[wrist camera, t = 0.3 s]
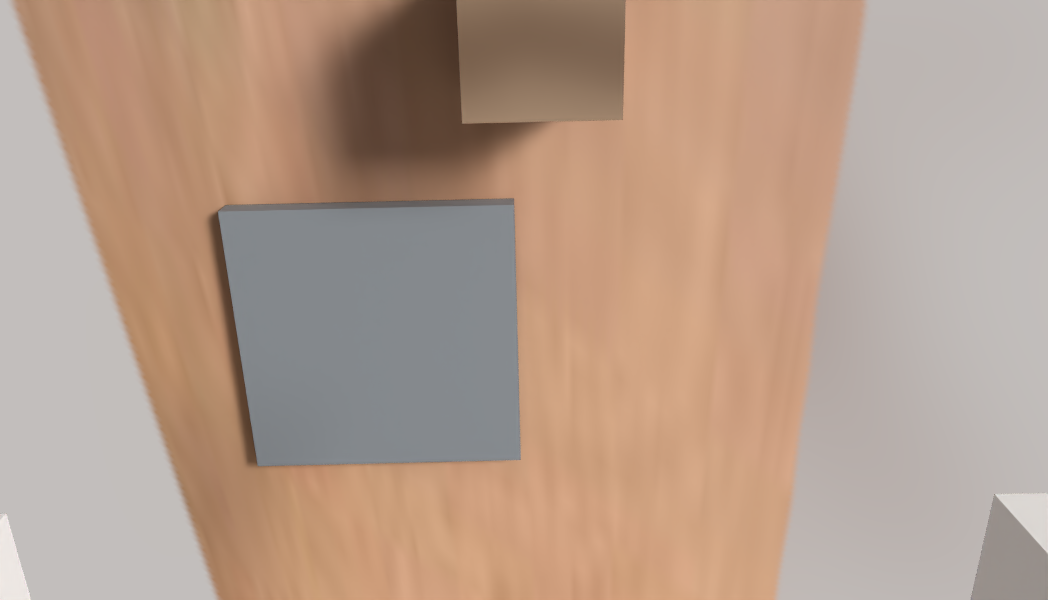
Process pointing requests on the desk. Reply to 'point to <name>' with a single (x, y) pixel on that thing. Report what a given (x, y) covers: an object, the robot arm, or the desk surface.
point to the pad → (377, 329)
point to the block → (541, 60)
